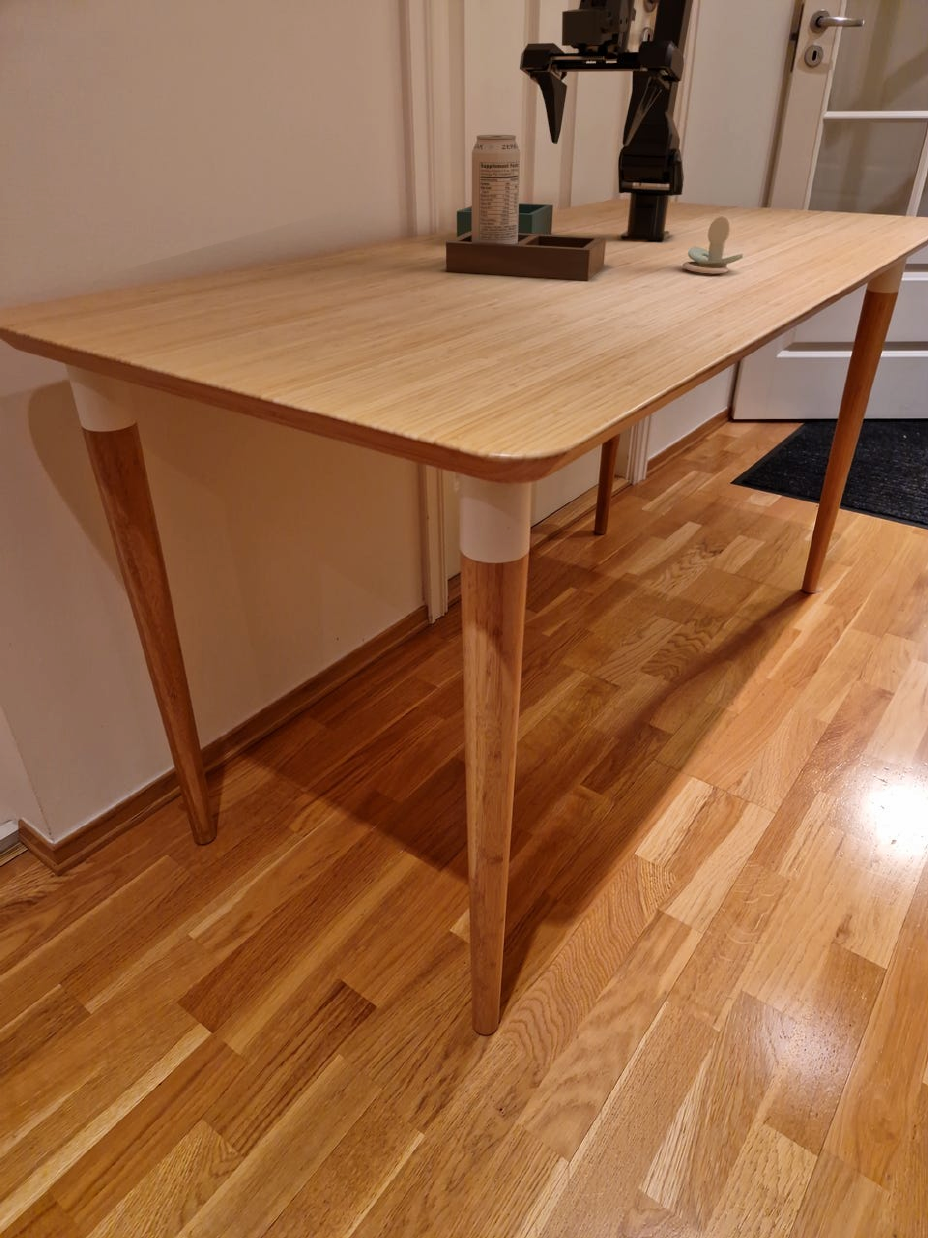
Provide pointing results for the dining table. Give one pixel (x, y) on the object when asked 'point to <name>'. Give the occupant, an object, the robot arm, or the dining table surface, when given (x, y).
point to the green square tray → (529, 219)
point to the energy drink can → (495, 189)
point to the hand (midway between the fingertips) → (589, 144)
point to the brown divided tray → (529, 256)
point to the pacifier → (712, 250)
